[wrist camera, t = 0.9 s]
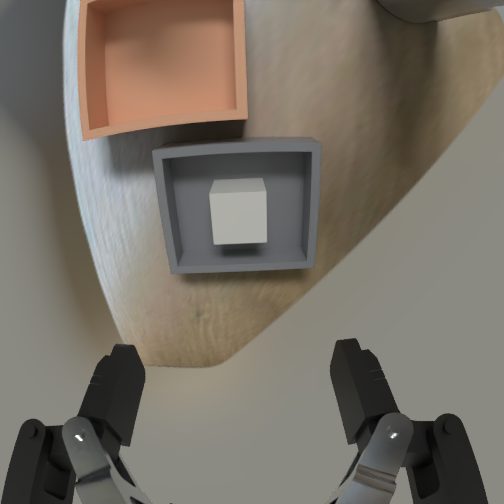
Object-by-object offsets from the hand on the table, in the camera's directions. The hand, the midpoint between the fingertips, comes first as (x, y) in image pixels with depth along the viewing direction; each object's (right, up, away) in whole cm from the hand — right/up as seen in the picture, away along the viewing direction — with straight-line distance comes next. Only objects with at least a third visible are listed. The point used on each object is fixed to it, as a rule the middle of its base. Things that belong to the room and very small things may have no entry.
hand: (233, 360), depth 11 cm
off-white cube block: (-1, +9, +17) cm, 19 cm away
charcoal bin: (-1, +9, +18) cm, 20 cm away
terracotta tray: (-7, +22, +10) cm, 26 cm away
